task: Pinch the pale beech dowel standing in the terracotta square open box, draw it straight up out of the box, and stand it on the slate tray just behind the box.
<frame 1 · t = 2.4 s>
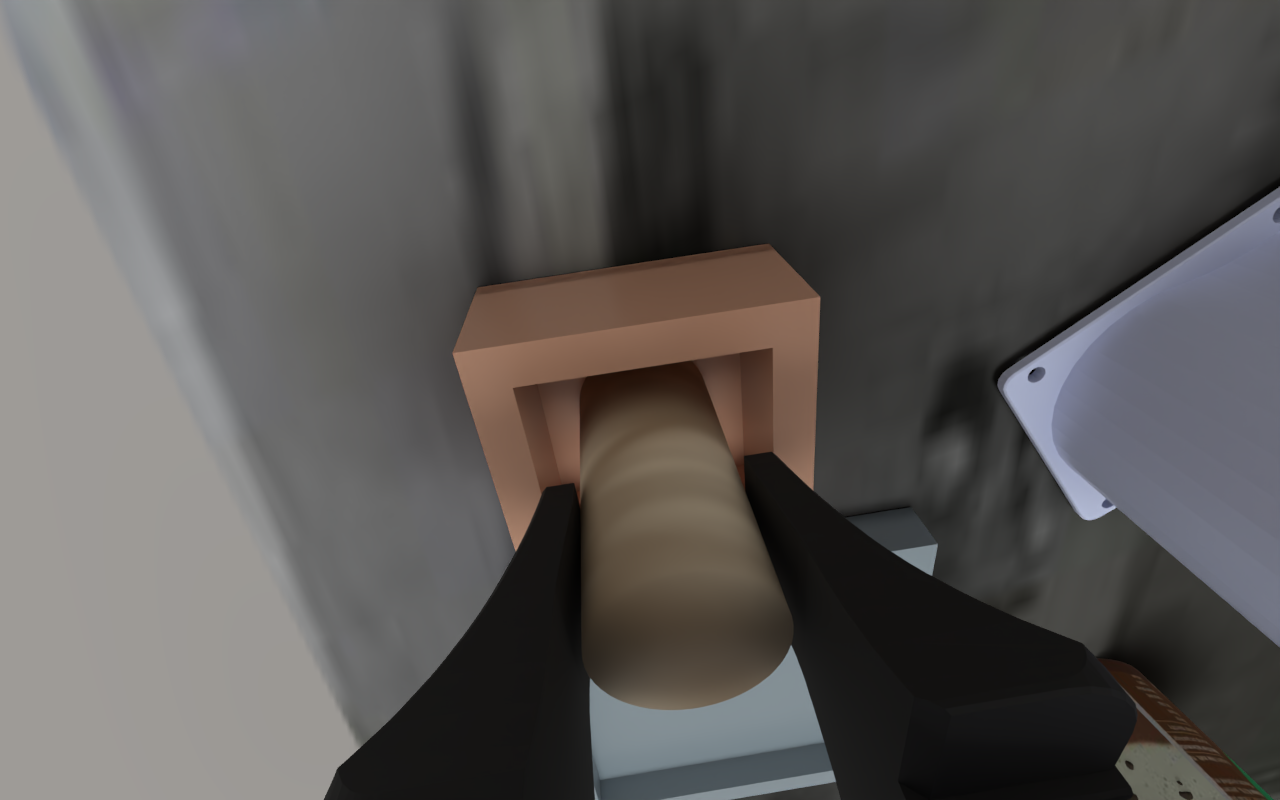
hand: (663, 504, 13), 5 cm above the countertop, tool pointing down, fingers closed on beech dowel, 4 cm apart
beech dowel: (643, 401, 17), point 1 cm above the countertop, touching gripper, terracotta square open box
terracotta square open box: (641, 391, 17), on the countertop
slate tray: (722, 663, 24), on the countertop
food container: (1095, 715, 30), on the countertop
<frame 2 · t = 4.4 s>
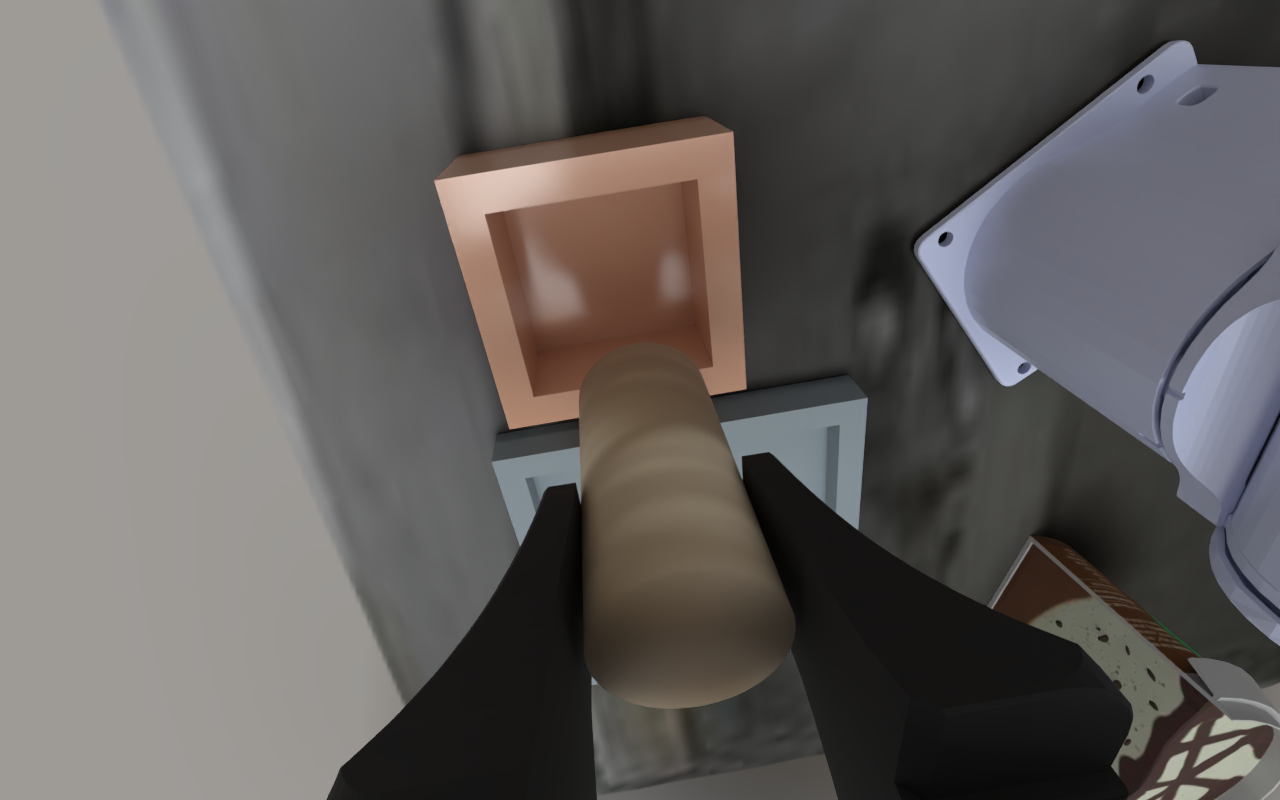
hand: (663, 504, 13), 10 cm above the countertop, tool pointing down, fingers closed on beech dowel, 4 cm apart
beech dowel: (642, 400, 17), point 5 cm above the countertop, touching gripper
terracotta square open box: (602, 256, 20), on the countertop
slate tray: (689, 534, 27), on the countertop
food container: (1039, 598, 33), on the countertop
when the fingers open (6 cm above the countertop, at t = 6.0 s): beech dowel drops 1 cm, resting on slate tray.
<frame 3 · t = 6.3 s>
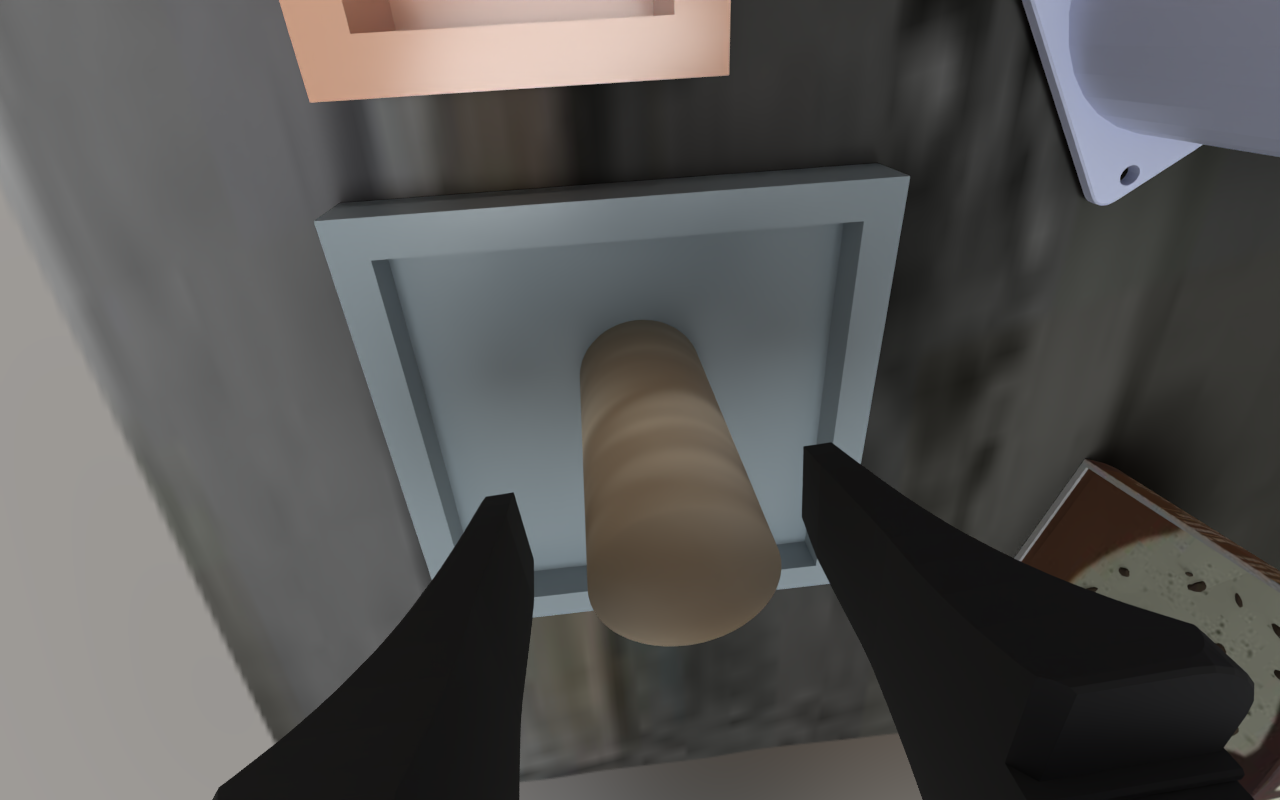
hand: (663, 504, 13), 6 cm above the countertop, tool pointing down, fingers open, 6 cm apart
beech dowel: (640, 375, 18), point 1 cm above the countertop, touching slate tray
slate tray: (631, 410, 19), on the countertop
food container: (1078, 553, 25), on the countertop
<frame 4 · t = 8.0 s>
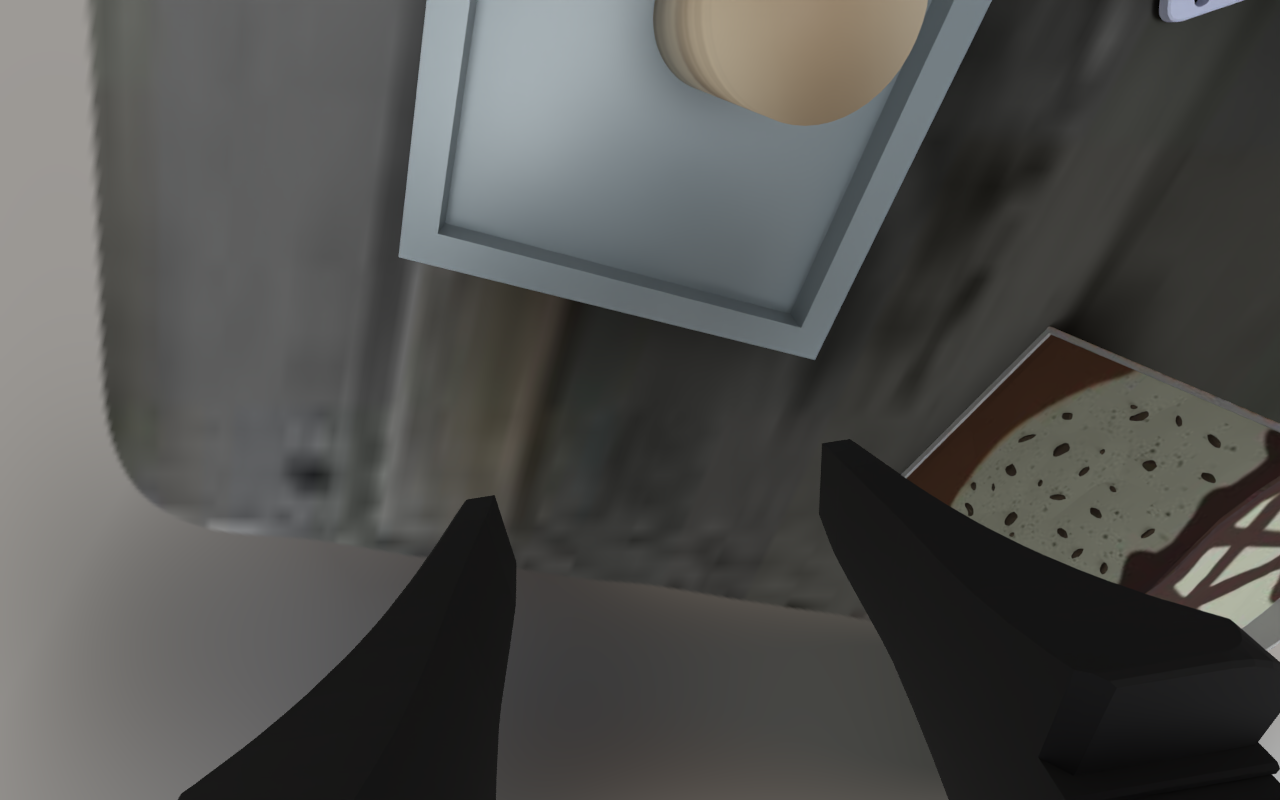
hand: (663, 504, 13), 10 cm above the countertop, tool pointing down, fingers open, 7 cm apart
beech dowel: (717, 18, 17), point 1 cm above the countertop, touching slate tray
slate tray: (685, 75, 18), on the countertop
food container: (1004, 440, 27), on the countertop
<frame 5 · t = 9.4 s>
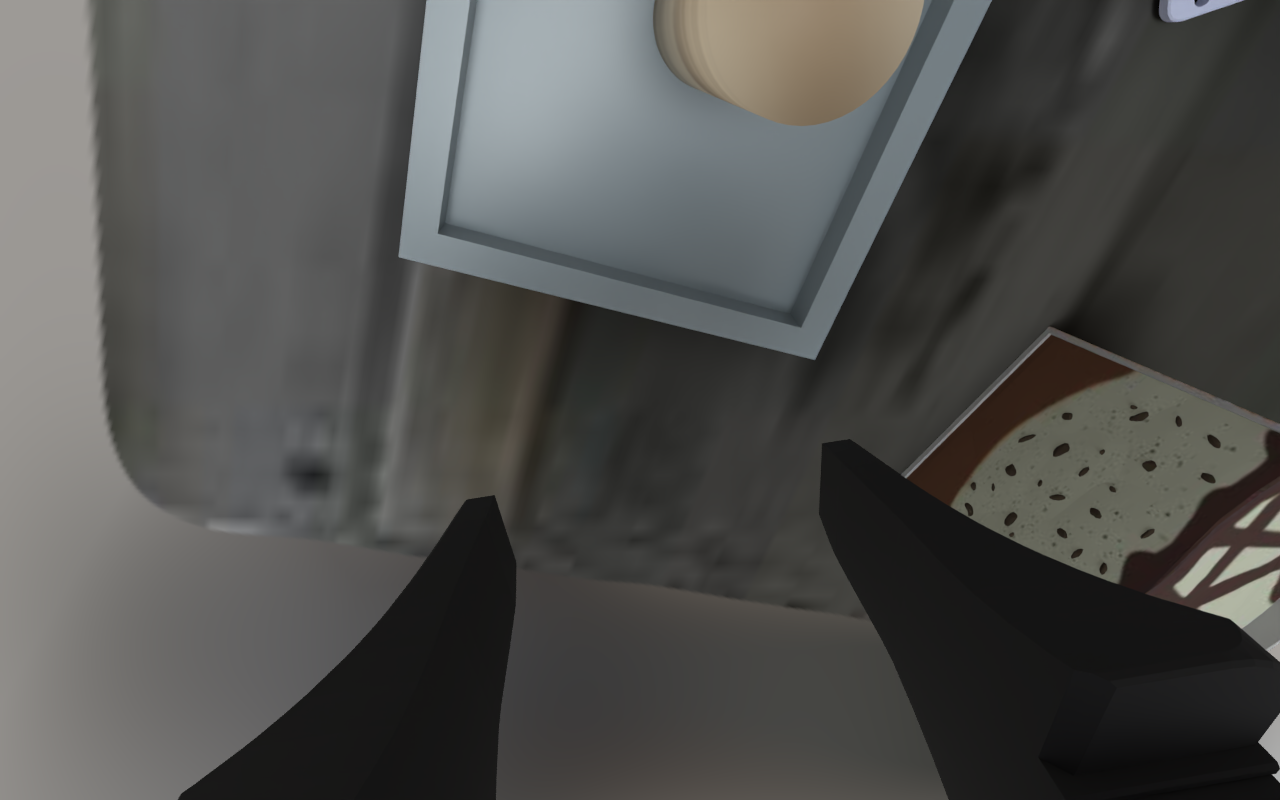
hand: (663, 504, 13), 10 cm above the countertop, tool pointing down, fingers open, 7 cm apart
beech dowel: (717, 18, 17), point 1 cm above the countertop, touching slate tray
slate tray: (685, 75, 18), on the countertop
food container: (1004, 440, 27), on the countertop
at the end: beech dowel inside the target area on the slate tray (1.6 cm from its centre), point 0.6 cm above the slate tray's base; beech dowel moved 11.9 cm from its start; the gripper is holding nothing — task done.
